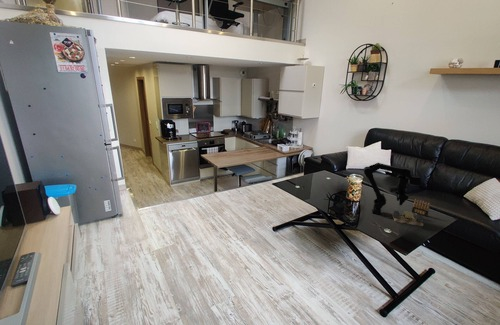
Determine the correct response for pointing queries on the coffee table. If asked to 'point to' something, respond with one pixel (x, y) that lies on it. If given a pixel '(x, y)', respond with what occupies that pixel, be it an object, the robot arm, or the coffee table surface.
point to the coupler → (408, 215)
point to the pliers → (381, 227)
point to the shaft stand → (415, 221)
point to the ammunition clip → (420, 208)
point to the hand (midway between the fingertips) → (398, 202)
